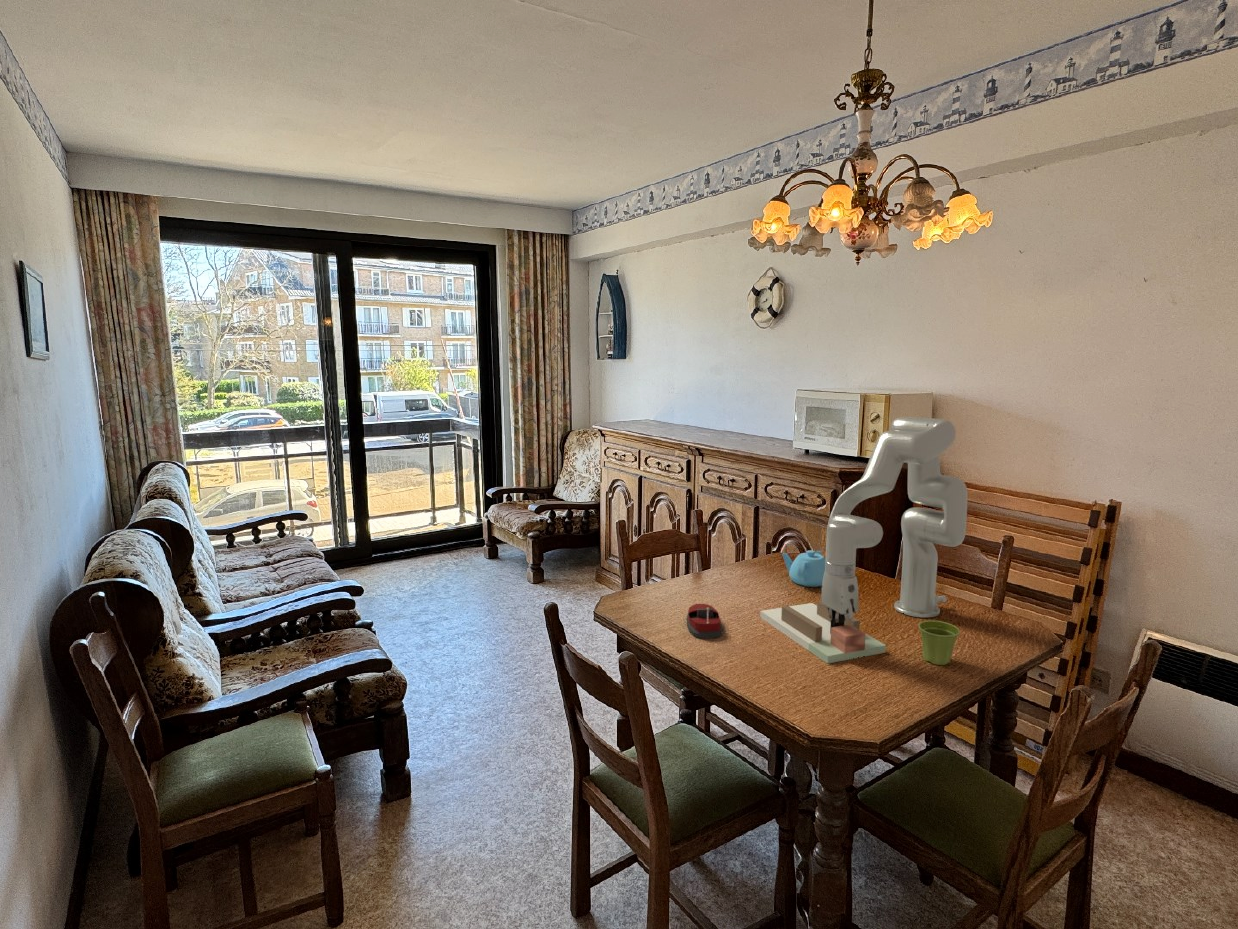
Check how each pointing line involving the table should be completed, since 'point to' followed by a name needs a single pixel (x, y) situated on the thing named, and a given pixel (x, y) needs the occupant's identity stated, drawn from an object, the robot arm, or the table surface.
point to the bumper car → (704, 621)
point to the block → (848, 638)
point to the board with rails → (816, 631)
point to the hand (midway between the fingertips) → (836, 634)
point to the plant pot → (938, 641)
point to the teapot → (806, 568)
